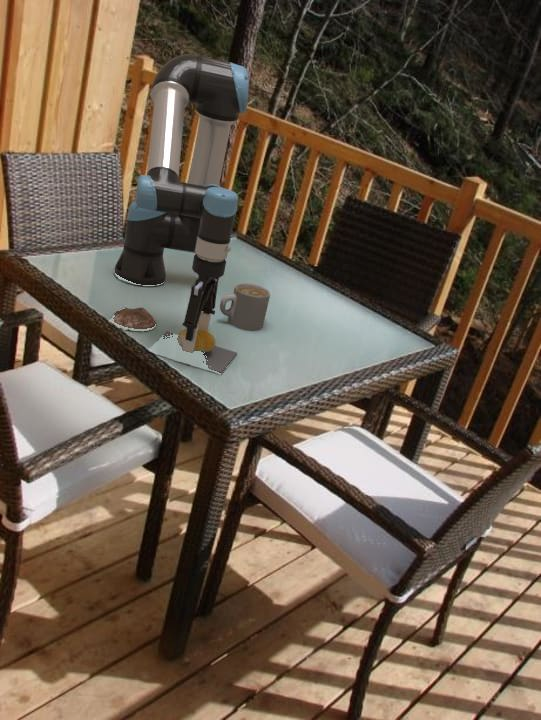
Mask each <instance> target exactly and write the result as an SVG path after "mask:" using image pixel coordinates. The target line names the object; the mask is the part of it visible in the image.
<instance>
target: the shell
mask: <svg viewBox="0 0 541 720" xmlns="http://www.w3.org/2000/svg"><path fill="white" fill-rule="evenodd" d="M124 308H125V309H122V308H121V309H122V310H120V309H119V310H120V311H119V310H116V311H115V312H114V313H113V314H114V315H115V317H114V318H113V319H114V322H115V323H117V324H119V325H122V326H124V327H128V328H134V329H147V328H152V327H154V326H155V324H156V325H157V321H156V320H155V318H154V317H153V315H152V314H151V313H149V312H148V311H147V309H145V307H136V308H129V307H124Z"/></svg>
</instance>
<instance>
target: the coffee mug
mask: <svg viewBox="0 0 541 720" xmlns="http://www.w3.org/2000/svg"><path fill="white" fill-rule="evenodd" d="M270 297H271V292H270V291H269V290H268V288H265V287H263V286H261V285H258V284H253V283H248V282H247V283H245V282H241V283H237V284H236V285H235V286H234V289H233V293H232V294H225V295H224V296H222V298H221V300H220V303H219V310H220V311H221V313H222V314H223V315H224V316H226V317H228V319H227V321H228V323H229V325H231V326H232V327H235V328H237V329H240V330H243V331H247V332H256V331H261V330H262V329H263V328H264V324H265V320H266V315H267V310H268V308H269V307H268V306H269V302H270V301H269V300H270ZM229 301H231V304H230V308H228V309H226V305H227V303H228V302H229Z"/></svg>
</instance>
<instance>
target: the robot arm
mask: <svg viewBox="0 0 541 720" xmlns="http://www.w3.org/2000/svg"><path fill="white" fill-rule="evenodd" d="M249 82H250V81H249V74H248V70H247V69H246V67H245V66H243V65H239V64H236V63H233V62H231V61H225V60H221V59H215V58H210V57H205V56H199V55H197V54H191V53H189V54H188V53H187V54H186V53H185V54H180V55H177V56H176V57H173V58H172V59H170V60H168V61H167V62H166V63H164V64H163V65H162V66H161V68H160V69H159V70H158V71H157V73H156V74H155V76H154V78H153V82H152V84H151V85H152V86H151V92H150V98H151V101H152V103H153V111H152V112H153V113H152V120H151V121H152V122H151V130H150V140H149V146H148V148H149V149H148V150H149V151H148V158H147V165H146V166H147V167H146V174H145V175H144V174H141V175H139V176H138V178H137V183H136V192H135V200H134V201H132V202H131V203H130V204H129V207H128V213H127V216H126V228H125V235H124V239H123V240H124V242H123V249H122V252H121V253H120V256H119V258H118V260H117V262H116V264H115V265H114V270H115V273H116V274H117V275H119V276H120V277H122V278H124V279H126V280H128V281H131V282H133V283H136V284H141V285H157V284H161V283H163V282H164V281H165V282H166V276H167V273H166V272H167V271H166V267H165V261H164V251H165V249H169V250H175V251H181V252H188V253H192V254H194V256H193V261H192V267H191V270H192V271H193V272H194V273H196V274H197V275H198V278H196V280H195V283H194V284H192V285H191V290H190V296H189V300H188V304H187V308H186V311H185V317H184V320H183V322H182V327H185V329H186V330H185V335H184V341H183V347H182V350H183V351H186V352H190V353H193V352H194V347H195V342H196V337H197V331H198V330H202V331H207V332H209V327H210V321H211V317H212V315H215V313H216V310H215V308H216V302H217V293H218V287H219V280H220V278H221V277H223V276H224V275H225V271H226V267H227V266H226V264H227V260H226V259H227V258H228V254H229V252H231V250H232V248H231V247H230V243H231V238H232V233H233V228H234V225H235V224H234V223H235V218H236V214H237V212H238V203H239V196H238V194H237V192H235V191H233V190H232V189H228V188H225V187H221V186H220V182H221V176H222V171H223V166H224V162H225V161H224V160H225V156H226V152H227V146H228V142H229V136H230V131H231V127H232V125H233V124H235V123H237V122H238V121H239V116H240V115H243V114H244V115H245V113H246V112H247V108H248V100H249V85H250V84H249ZM189 104H193V105H195V108H194V110H195V113H196V114H197V115H198V117H199V121H198V127H197V132H196V137H195V143H194V147H193V148H194V149H193V154H192V160H191V166H190V170H189V175H188V176H189V177H188V182H184V181H179V179H180V178H179V175H180V164H181V152H182V142H183V139H182V138H183V131H184V130H183V128H184V117H185V116H184V115H185V108H186V107H187V106H188V105H189ZM165 282H164V283H165Z"/></svg>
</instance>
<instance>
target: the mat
mask: <svg viewBox="0 0 541 720" xmlns="http://www.w3.org/2000/svg"><path fill="white" fill-rule="evenodd" d="M170 332H171V331H169V330H166V332H164V333H163V334H162V335H164V336H163V337H164V338H163V339H165V336H166V337H167V336H170V334H171V335H173V333H174V332H171V333H170ZM167 334H168V335H167ZM162 335H161V336H160V337H162ZM172 337H173V336H172ZM167 338H170V337H167ZM167 338H166V339H167ZM203 353H204V352H203ZM203 355H204V356H205V355H206V356H207V358H206V356H205V359H206V365H208V368H209V369H211V370H214V371H217V372H219V373H222V372H223V371H224V370H225V369H226V370H227V368H228V367H229V366H230V365H229V364H231V363H232V362H233V361H234V360H235V358H236V357H237V356H236V355H238V352H236V351H233V350H231V349H227V348H224V347H220V346H217V345H215V346H214V347H213V349H212V350H210V351H208V352H205V353H204V354H203ZM235 356H236V357H235ZM234 357H235V358H234ZM233 359H234V360H233ZM207 360H208V361H207ZM232 360H233V361H232ZM231 361H232V362H231ZM230 362H231V363H230ZM203 363H204V361H203ZM228 365H229V366H228ZM210 366H211V367H210ZM227 366H228V367H227ZM226 367H227V368H226ZM226 370H225V371H226ZM225 371H224V372H225ZM224 372H223V373H224Z"/></svg>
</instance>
